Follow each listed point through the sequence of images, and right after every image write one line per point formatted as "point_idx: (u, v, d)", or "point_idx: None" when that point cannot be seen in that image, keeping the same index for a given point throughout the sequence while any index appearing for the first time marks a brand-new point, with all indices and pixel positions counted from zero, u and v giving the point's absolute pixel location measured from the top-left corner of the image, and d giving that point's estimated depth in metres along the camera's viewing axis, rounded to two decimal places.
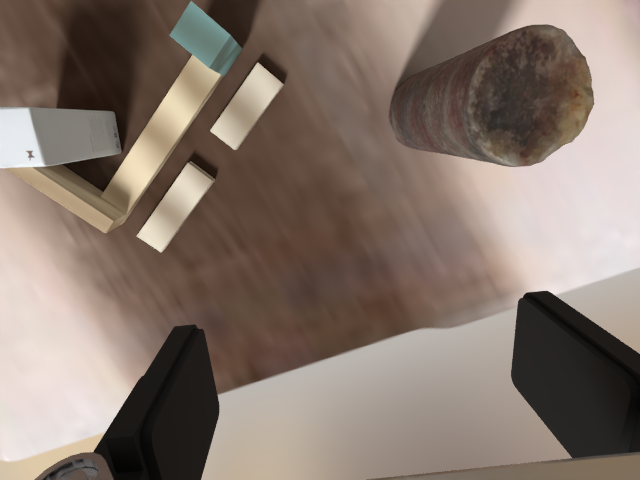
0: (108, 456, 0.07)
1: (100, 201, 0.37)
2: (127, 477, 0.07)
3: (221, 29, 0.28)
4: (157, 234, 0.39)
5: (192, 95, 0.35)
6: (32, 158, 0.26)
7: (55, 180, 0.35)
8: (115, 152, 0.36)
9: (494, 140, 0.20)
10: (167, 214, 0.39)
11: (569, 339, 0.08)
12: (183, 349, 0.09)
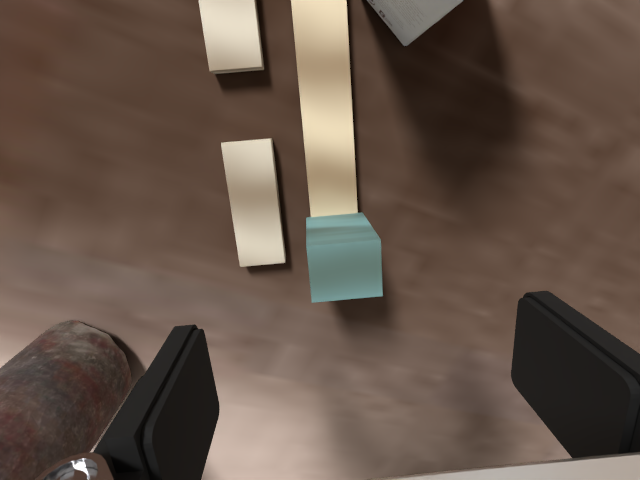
0: (108, 456, 0.07)
1: None
2: (127, 477, 0.07)
3: (327, 298, 0.18)
4: None
5: (324, 163, 0.22)
6: None
7: None
8: None
9: None
10: None
11: (569, 339, 0.08)
12: (183, 349, 0.09)
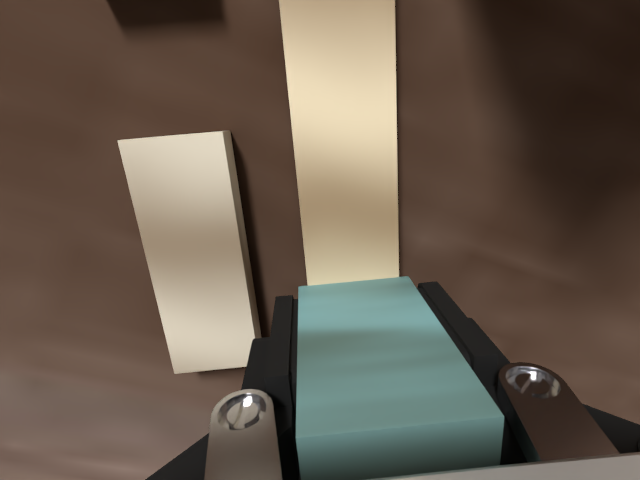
0: None
1: None
2: (280, 410, 0.08)
3: None
4: None
5: (335, 181, 0.11)
6: None
7: None
8: None
9: None
10: None
11: None
12: (292, 314, 0.10)
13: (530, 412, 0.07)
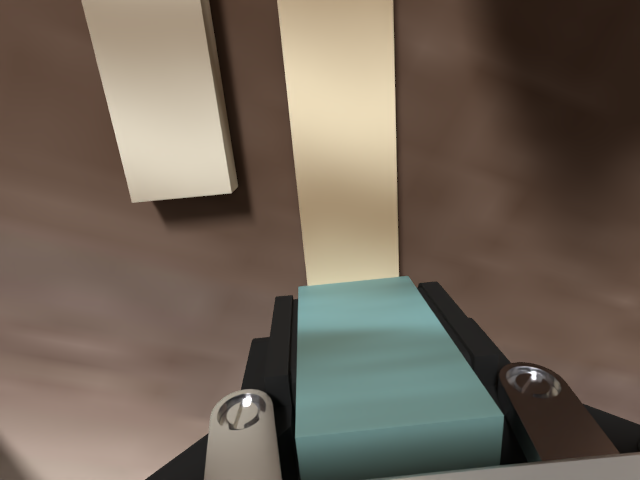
0: None
1: None
2: (279, 411, 0.08)
3: None
4: None
5: (334, 182, 0.11)
6: None
7: None
8: None
9: None
10: None
11: None
12: (292, 314, 0.10)
13: (530, 412, 0.07)
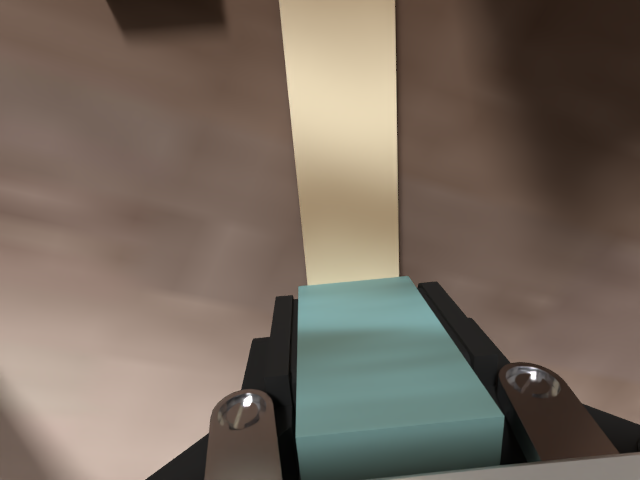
0: None
1: None
2: (280, 410, 0.08)
3: None
4: None
5: (335, 181, 0.11)
6: None
7: None
8: None
9: None
10: None
11: None
12: (292, 314, 0.10)
13: (530, 412, 0.07)
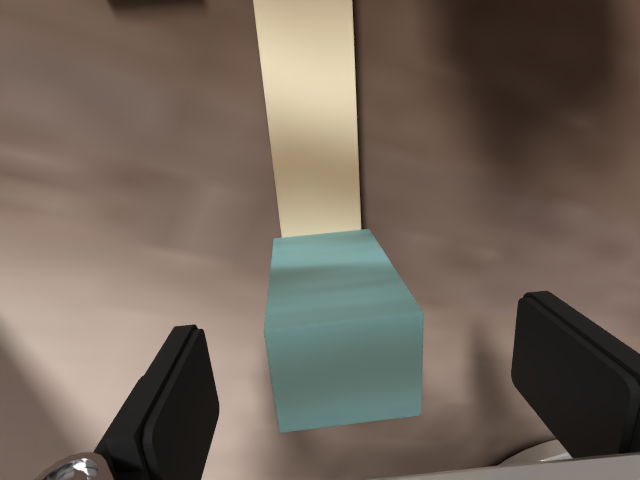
0: (108, 456, 0.07)
1: None
2: (127, 477, 0.07)
3: (310, 425, 0.09)
4: None
5: (303, 144, 0.13)
6: None
7: None
8: None
9: None
10: None
11: (569, 339, 0.08)
12: (183, 349, 0.09)
13: None
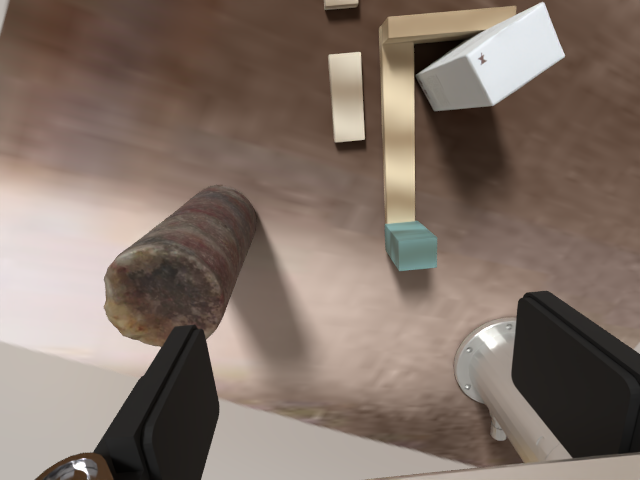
0: (108, 456, 0.07)
1: (411, 40, 0.33)
2: (127, 477, 0.07)
3: (407, 269, 0.35)
4: None
5: (397, 192, 0.39)
6: (479, 57, 0.25)
7: (459, 32, 0.32)
8: (420, 76, 0.35)
9: (152, 258, 0.20)
10: None
11: (569, 339, 0.08)
12: (183, 349, 0.09)
13: None
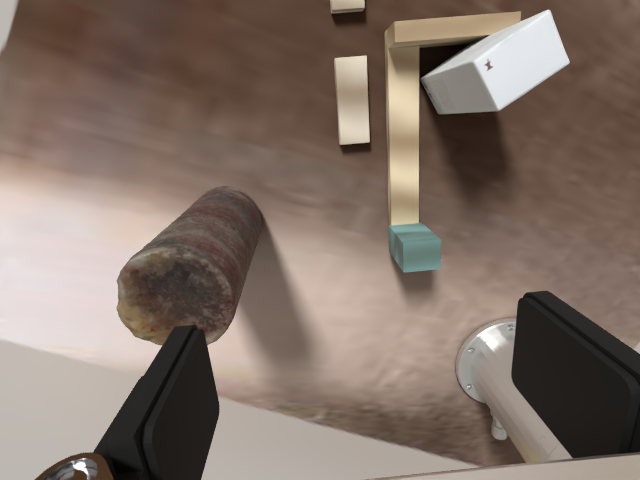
0: (108, 456, 0.07)
1: (416, 44, 0.34)
2: (127, 477, 0.07)
3: (411, 270, 0.35)
4: None
5: (401, 194, 0.39)
6: (486, 63, 0.26)
7: (464, 37, 0.32)
8: (425, 79, 0.35)
9: (165, 260, 0.21)
10: None
11: (569, 339, 0.08)
12: (183, 349, 0.09)
13: None
